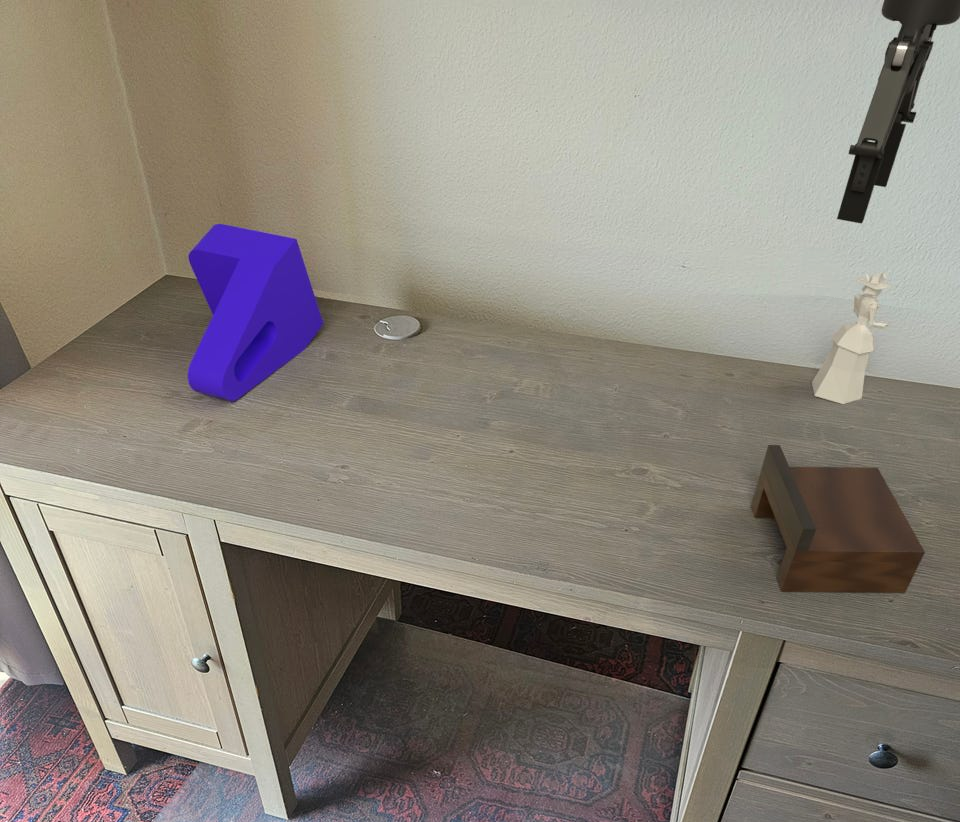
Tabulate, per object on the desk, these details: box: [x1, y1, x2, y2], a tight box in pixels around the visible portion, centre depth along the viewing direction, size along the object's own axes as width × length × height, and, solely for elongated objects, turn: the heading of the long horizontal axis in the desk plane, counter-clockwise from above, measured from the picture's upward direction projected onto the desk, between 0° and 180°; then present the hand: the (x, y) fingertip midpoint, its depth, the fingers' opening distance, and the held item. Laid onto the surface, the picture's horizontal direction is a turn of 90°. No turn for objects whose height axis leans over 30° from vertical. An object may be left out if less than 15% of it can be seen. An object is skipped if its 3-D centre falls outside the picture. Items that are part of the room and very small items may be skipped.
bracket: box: [187, 223, 324, 402], centre depth 129 cm, size 25×15×16 cm
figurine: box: [811, 271, 893, 405], centre depth 122 cm, size 7×8×18 cm
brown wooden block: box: [750, 444, 926, 594], centre depth 99 cm, size 14×16×9 cm
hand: (862, 202), depth 99 cm, fingers open, 13 cm apart
